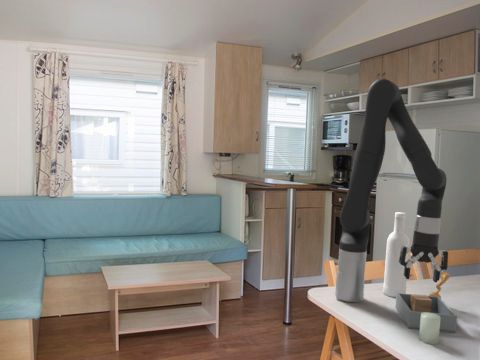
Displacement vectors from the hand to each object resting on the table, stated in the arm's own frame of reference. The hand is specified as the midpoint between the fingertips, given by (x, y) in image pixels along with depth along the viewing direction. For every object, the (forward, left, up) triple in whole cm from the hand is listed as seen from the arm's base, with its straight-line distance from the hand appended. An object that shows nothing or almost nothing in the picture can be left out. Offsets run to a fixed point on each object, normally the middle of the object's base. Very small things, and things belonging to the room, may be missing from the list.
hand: (420, 280), depth 142 cm
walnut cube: (+1, 0, -11) cm, 11 cm away
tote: (0, -5, -11) cm, 12 cm away
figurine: (+9, +11, -11) cm, 19 cm away
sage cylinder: (-3, -21, -11) cm, 23 cm away
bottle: (-4, +18, -11) cm, 22 cm away
